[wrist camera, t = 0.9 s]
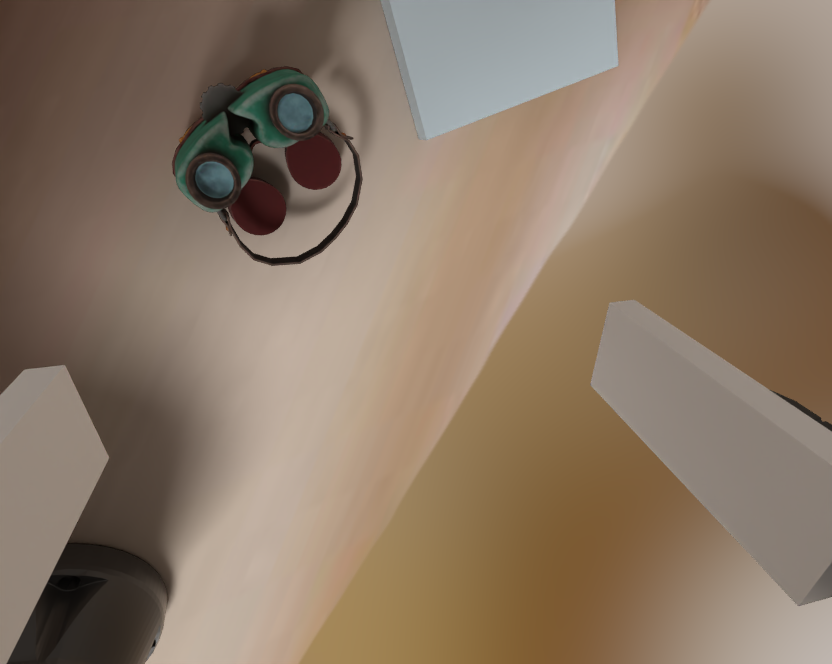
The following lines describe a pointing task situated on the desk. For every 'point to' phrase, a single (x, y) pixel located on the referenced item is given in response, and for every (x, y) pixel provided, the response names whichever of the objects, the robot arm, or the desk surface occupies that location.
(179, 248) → the desk surface
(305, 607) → the desk surface
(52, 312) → the desk surface
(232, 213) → the binoculars
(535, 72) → the board
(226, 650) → the desk surface
